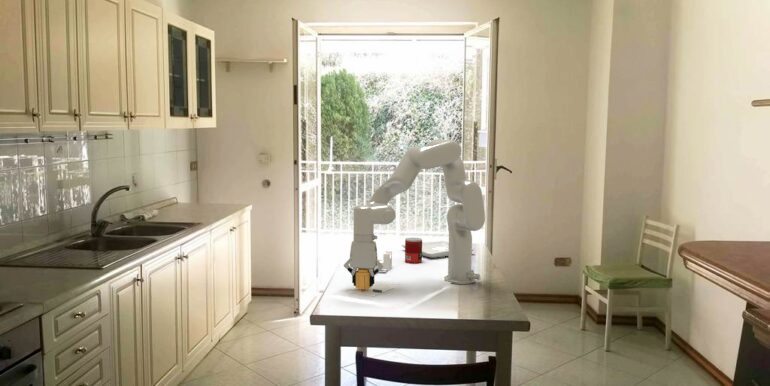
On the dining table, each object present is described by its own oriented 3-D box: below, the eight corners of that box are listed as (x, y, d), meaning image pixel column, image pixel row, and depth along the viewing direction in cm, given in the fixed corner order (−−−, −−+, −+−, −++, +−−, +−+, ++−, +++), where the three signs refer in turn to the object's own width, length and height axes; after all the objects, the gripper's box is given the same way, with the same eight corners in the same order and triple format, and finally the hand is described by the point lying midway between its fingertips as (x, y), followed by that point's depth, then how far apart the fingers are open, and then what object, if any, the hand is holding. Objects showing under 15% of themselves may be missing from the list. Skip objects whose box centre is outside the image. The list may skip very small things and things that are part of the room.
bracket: (391, 267, 278) (391, 251, 277) (389, 271, 271) (389, 254, 270) (363, 266, 280) (363, 250, 280) (360, 269, 274) (360, 253, 273)
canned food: (422, 263, 285) (422, 240, 284) (405, 263, 286) (405, 240, 285) (421, 260, 293) (421, 237, 292) (404, 260, 293) (405, 237, 292)
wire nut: (372, 285, 235) (372, 267, 234) (368, 289, 229) (369, 271, 229) (357, 284, 236) (357, 267, 235) (354, 288, 230) (354, 270, 230)
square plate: (475, 255, 307) (475, 248, 306) (429, 261, 293) (429, 253, 293) (444, 246, 330) (444, 239, 330) (400, 251, 317) (400, 243, 316)
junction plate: (399, 288, 241) (399, 274, 240) (372, 300, 224) (373, 285, 223) (373, 284, 247) (373, 270, 246) (345, 295, 230) (345, 281, 229)
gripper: (387, 237, 233) (387, 284, 235) (343, 235, 236) (343, 282, 238) (384, 240, 225) (383, 289, 227) (338, 239, 228) (338, 286, 230)
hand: (363, 285), depth 232 cm, fingers closed on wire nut, 5 cm apart
